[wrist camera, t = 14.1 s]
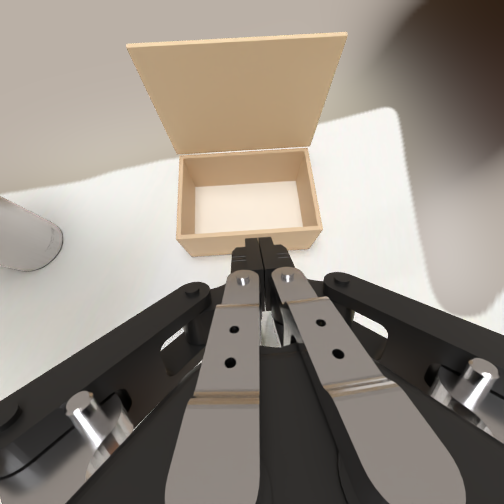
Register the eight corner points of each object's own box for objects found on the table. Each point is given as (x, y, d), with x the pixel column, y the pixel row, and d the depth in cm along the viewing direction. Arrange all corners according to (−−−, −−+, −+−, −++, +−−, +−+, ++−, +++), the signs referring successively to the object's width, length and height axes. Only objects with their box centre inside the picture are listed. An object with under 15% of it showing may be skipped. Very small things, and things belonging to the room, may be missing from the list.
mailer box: (191, 256, 38) (176, 239, 30) (193, 186, 42) (179, 155, 34) (309, 248, 38) (322, 229, 30) (297, 179, 42) (307, 147, 35)
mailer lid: (126, 47, 20) (126, 43, 21) (177, 154, 34) (177, 151, 34) (347, 35, 21) (346, 31, 21) (309, 146, 34) (309, 142, 35)
